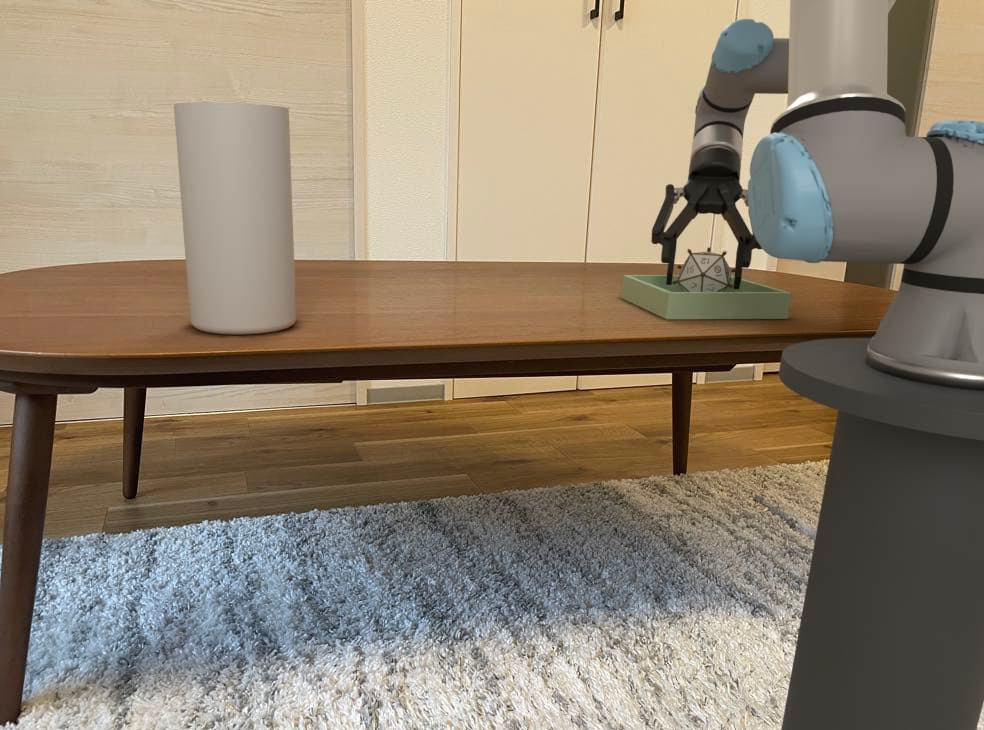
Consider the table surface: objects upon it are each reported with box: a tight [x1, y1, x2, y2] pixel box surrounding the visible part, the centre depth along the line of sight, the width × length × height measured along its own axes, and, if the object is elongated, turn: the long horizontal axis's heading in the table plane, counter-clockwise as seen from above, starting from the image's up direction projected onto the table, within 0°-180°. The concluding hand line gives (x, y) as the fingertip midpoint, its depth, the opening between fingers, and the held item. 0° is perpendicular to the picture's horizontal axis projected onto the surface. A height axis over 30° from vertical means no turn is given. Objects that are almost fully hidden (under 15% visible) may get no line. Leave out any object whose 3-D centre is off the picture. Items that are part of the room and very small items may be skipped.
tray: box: [621, 274, 793, 320], centre depth 113 cm, size 18×18×4 cm
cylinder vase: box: [173, 101, 297, 336], centre depth 91 cm, size 12×12×25 cm
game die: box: [672, 246, 735, 292], centre depth 113 cm, size 9×8×10 cm
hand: (703, 281), depth 110 cm, fingers closed on game die, 8 cm apart
